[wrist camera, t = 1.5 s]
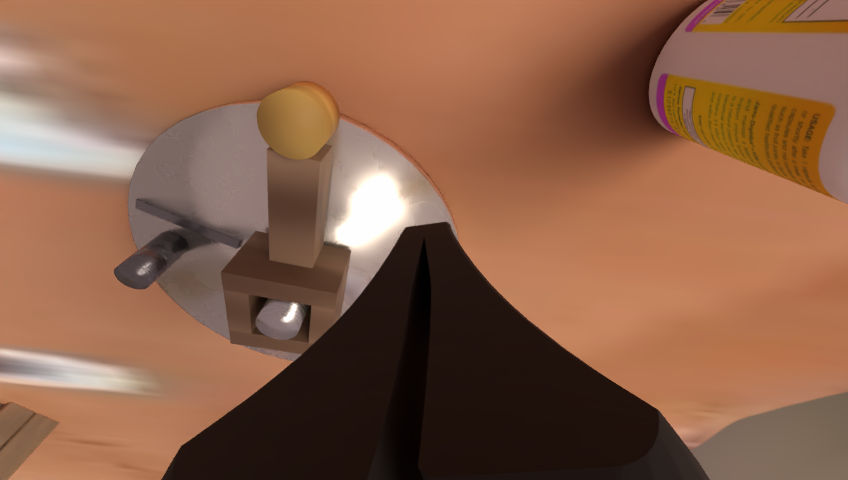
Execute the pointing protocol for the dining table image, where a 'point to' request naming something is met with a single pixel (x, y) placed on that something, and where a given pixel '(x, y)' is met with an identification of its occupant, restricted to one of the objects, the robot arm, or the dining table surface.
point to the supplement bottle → (762, 87)
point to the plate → (248, 202)
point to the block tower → (20, 436)
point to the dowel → (151, 260)
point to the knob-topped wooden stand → (291, 225)
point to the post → (281, 318)
